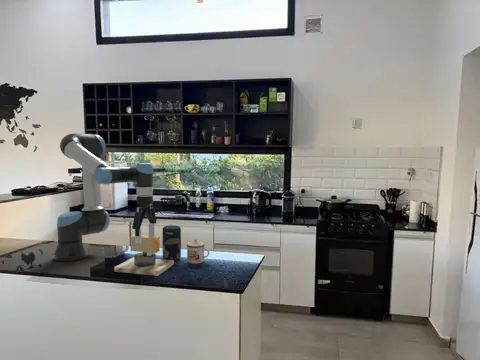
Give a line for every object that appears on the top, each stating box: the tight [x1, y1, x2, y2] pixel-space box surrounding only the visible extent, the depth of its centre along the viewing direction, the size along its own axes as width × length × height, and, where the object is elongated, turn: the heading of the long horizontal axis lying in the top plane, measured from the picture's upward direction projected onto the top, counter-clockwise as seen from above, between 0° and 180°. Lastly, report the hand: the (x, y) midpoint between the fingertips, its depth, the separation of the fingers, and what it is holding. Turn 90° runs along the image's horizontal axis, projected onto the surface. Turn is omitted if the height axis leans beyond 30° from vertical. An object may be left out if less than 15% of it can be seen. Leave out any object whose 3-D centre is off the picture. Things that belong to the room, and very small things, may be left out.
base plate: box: [113, 256, 175, 277], centre depth 182 cm, size 22×18×2 cm
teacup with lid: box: [186, 238, 210, 264], centre depth 194 cm, size 12×9×12 cm
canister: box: [161, 224, 182, 261], centre depth 198 cm, size 10×10×18 cm
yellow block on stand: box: [129, 234, 161, 266], centre depth 182 cm, size 13×10×13 cm
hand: (145, 239), depth 181 cm, fingers open, 13 cm apart
